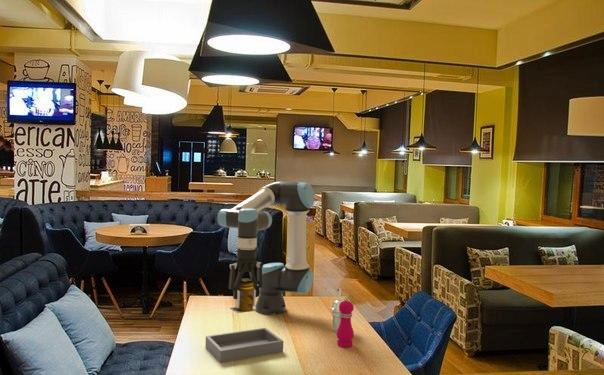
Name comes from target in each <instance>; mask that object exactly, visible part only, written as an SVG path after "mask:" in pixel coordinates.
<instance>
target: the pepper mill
mask: <svg viewBox="0 0 604 375" xmlns="http://www.w3.org/2000/svg"><path fill="white" fill-rule="evenodd" d="M339 310H340V311H341V312H340V316H341V322H340V325H339V327H338V329H337V332H336V338H337V343H336V345H337V346H338V347H340V348H346V349H347V347H348V348H351V347H352V346H353V339H354V337H355V331H354V329H353V327H352V317H353V311H354V310H355V309H354V303H353V302H352V301H350V299H349V297H348V296H346V297H345V298H344V300H343V301H342V302H341V303H340V305H339Z"/></svg>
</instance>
